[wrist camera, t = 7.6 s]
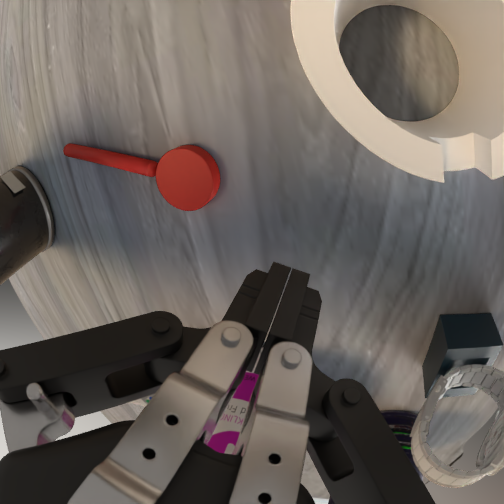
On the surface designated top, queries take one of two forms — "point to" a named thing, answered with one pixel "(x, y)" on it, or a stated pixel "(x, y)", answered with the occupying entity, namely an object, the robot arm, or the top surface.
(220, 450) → the supplement can
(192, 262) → the top surface
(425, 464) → the watch
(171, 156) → the red spoon
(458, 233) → the top surface
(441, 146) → the bracket
